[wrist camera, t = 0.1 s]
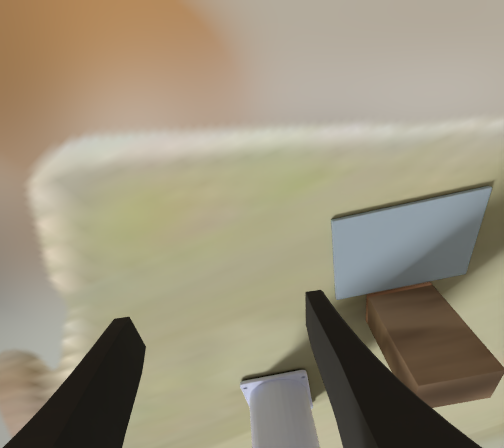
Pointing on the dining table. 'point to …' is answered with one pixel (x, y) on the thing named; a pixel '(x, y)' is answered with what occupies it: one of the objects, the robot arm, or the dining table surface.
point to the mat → (406, 243)
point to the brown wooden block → (431, 346)
